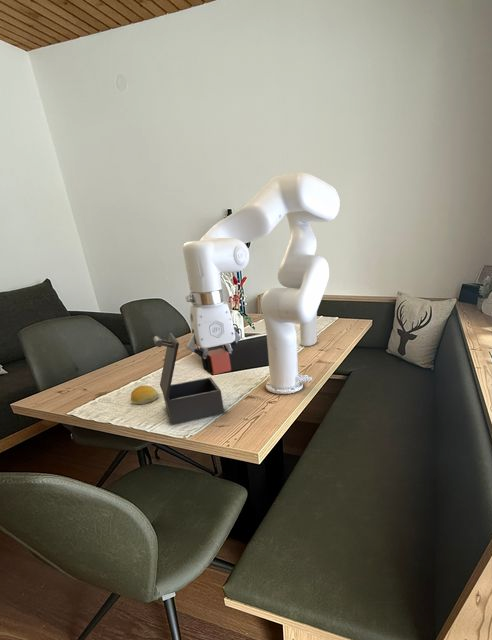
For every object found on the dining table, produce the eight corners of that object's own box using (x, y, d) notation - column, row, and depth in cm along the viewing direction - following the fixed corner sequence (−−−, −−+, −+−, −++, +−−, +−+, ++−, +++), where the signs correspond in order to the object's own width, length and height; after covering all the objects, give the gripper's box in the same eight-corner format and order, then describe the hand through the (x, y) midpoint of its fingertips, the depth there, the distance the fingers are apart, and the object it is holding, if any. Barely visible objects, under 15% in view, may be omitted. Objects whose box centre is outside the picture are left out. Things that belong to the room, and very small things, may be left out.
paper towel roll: (299, 346, 163) (298, 296, 152) (301, 342, 168) (300, 294, 157) (315, 346, 162) (315, 296, 151) (316, 342, 167) (316, 294, 156)
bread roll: (131, 407, 112) (128, 395, 110) (132, 396, 120) (129, 385, 118) (159, 402, 115) (156, 390, 113) (158, 392, 122) (155, 381, 120)
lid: (172, 333, 102) (153, 328, 99) (179, 343, 92) (158, 338, 89) (162, 385, 107) (143, 382, 104) (167, 400, 97) (148, 397, 95)
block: (223, 365, 99) (221, 348, 97) (231, 370, 96) (228, 352, 93) (206, 369, 97) (203, 351, 94) (213, 374, 93) (210, 356, 91)
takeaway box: (214, 398, 116) (210, 377, 112) (224, 413, 106) (220, 390, 103) (166, 408, 111) (161, 386, 107) (172, 424, 101) (166, 401, 97)
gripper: (178, 305, 80) (193, 381, 90) (245, 295, 88) (253, 365, 97) (168, 301, 86) (183, 372, 95) (232, 292, 94) (240, 359, 103)
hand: (218, 368), depth 96 cm, fingers closed on block, 5 cm apart
